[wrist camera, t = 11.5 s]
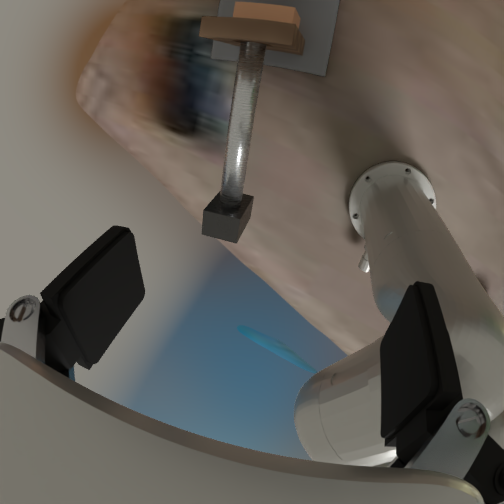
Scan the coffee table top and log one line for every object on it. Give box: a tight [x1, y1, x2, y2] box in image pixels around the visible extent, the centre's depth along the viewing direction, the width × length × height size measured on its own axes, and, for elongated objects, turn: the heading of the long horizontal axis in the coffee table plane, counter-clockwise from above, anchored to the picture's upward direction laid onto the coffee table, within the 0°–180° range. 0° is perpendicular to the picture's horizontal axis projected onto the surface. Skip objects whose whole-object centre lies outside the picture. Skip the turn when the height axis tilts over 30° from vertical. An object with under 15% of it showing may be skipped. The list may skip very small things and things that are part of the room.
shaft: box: [202, 41, 267, 243], centre depth 29 cm, size 20×4×6 cm, turn 171°
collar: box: [233, 1, 301, 29], centre depth 24 cm, size 2×6×6 cm, turn 82°
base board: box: [211, 0, 340, 77], centre depth 26 cm, size 17×14×2 cm
